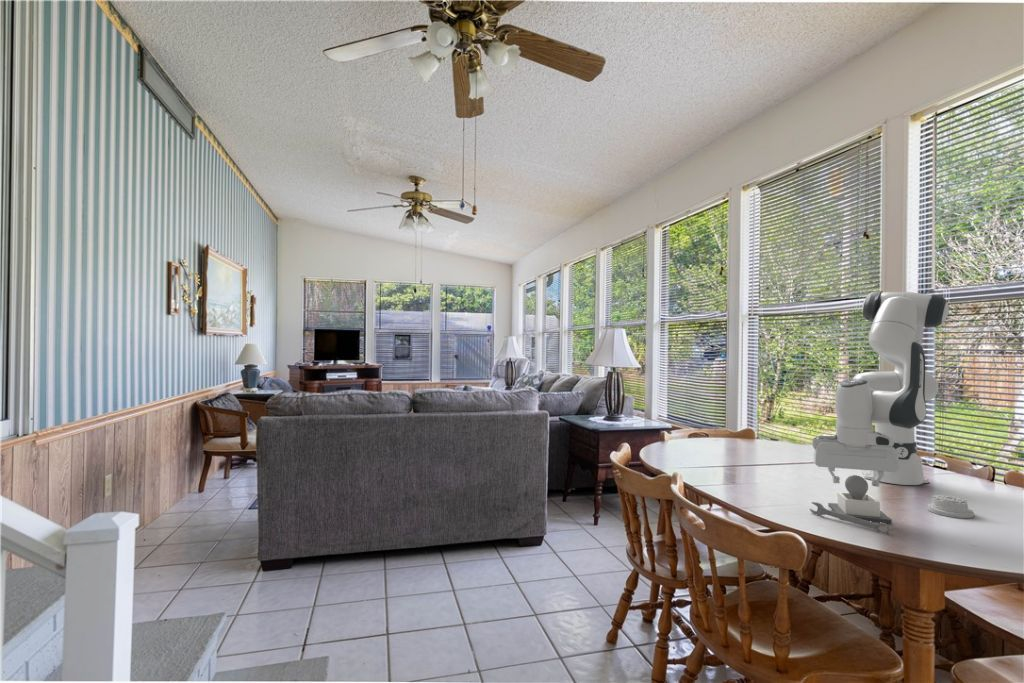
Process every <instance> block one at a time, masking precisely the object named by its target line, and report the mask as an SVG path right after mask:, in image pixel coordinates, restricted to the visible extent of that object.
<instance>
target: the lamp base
mask: <svg viewBox="0 0 1024 683" xmlns="http://www.w3.org/2000/svg"><path fill="white" fill-rule="evenodd" d="M836 493H837V494H836V495H837V496H836V497H837V503H834V502H827V503H828V507H829V509H830V508H831V509H832V510H833V511H834V512H837V513H841V514H845V515H848V516H852V517H855V518H859V519H862V520H866V521H872V522H874V523H878V522H882V523H886V524H889V523H892V522H893V521H892V519H891V518H890V517H889V516H888V515H886V514H885V513H884V512H883V511H882V510H881V502H880V501H879V500H877V499H876V498H875V497H874V496H872V494H869V493H866V494H865V495H864V497H863V500H853V498H852V496H851V495H850V493H849V492H846V491H845V492H843V491H837V492H836ZM831 509H830V510H831ZM832 510H831V511H832ZM892 524H893V523H892Z"/></svg>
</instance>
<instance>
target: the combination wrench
mask: <svg viewBox="0 0 1024 683" xmlns="http://www.w3.org/2000/svg"><path fill="white" fill-rule="evenodd" d="M811 504H812V505H814V506H816V507H817V509H816V510H814V509H812V508H809V510H810V512H811V513H812V514H813V513H814V514H813V515H815V514H817V515H816V516H818V515H820V516H824V515H825V516H830V517H833V518H836V519H839V520H843V521H846V522H849V523H852V524H856V525H859V526H862V527H866V528H868V529H872V530H874V531H876V532H878V533H879V532H882V533H881V534H884V533H886V534H885V535H888V534H889V533H890V532H891V529H890V526H889V524H888V523H882V522H881V523H878V522H870V521H866V520H862V519H859V518H855V517H852V516H848V515H845V514H841V513H837V512H834V511H832V510H831V509H827V508H826V507H824V505H823V504H822V503H820V502H817V501H816V502H815V501H812V502H811ZM880 525H883V526H884V527H886V529H887V530H886V532H884V531H882V530H880ZM883 532H884V533H883Z"/></svg>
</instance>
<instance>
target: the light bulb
mask: <svg viewBox="0 0 1024 683" xmlns="http://www.w3.org/2000/svg"><path fill="white" fill-rule="evenodd" d="M844 487H845V488H846V491H847V493H850V495H851V496H852V498H853V500H863V497H864V495H865V494H867V493H868V490H869V483H868V482H867V479H866V478H864V477H862V476H860V475H856V474H853V475H849V476H848V477H847V478H846V479H845V481H844Z"/></svg>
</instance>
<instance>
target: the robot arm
mask: <svg viewBox="0 0 1024 683" xmlns="http://www.w3.org/2000/svg"><path fill="white" fill-rule="evenodd" d="M949 310H950V308H949V304H948V301H947V300H946V298H945V297H944V296H940V295H937V294H926V293H919V292H911V291H903V292H902V291H883V290H879V291H878V290H877V291H872V292H870V293H868V294H867V295H866V297H865V298H864V300H863V301H862V304H861V313H862V317H864V319H866V321H869V322H872V324H871V327H870V329H869V333H868V343H869V346H870V347H871V349H873V351H875V353H877V354H878V355H879V356H880V358H881V359H882V360H883V361H884V362H885V363H888V364H890V365H892V366H894V370H891V371H888V370H887V371H879V370H878V371H876V370H875V371H866V372H862V373H857V374H855V375H854V376H853V378H852V379H846V380H842V381H840V382H838V383H837V387H836V391H835V402H834V409H835V413H836V422H835V435H833V434H831V435H830V434H828V435H827V434H826V435H825V434H818V435H816V436H814V437H813V438H812V448H813V449H814V452H813V463H814V465H816V466H817V467H818V468H827V470H828V472H829V473H830V475H831V476H832V483H833V484H840V483H841V481H840V480H841V478H840V477H839V476H838V475H835V473H834V472H836V471H835V470H836V469H844V470H845V469H847V470H860V471H861V473H862V475H863V478H864V479H865V480H867V479H868V480H870V481H871V486H872V487H879V488H880V482H881V483H886V484H887V483H888V484H894V485H901V486H919V485H922V484H927V483H928V482H929V483H930V481H929V478H926V477H924V476H925V475H924V467H923V460H922V458H921V457H920V456H918V454H917V452H918V451H917V449H918V445H917V441H915V440H916V439H915V427H917V426H919V425H920V424H922V423H923V422H924V421H925V419H926V416H927V404H926V401H931V400H934V398H935V397H936V396H937V394H938V392H939V384H938V381H937V379H936V378H935V377H934V376H933V374H931V373H929V372H927V370H926V355H925V350H924V348H923V347H922V342H923V337H924V330H925V329H932V328H937V327H939V326H942V324H943V323H944V322H945V321H946V319H947V317H948V315H949V313H950V312H949ZM924 328H925V329H924ZM873 423H874V424H873ZM873 425H874V426H873ZM874 430H875V431H874Z"/></svg>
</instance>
